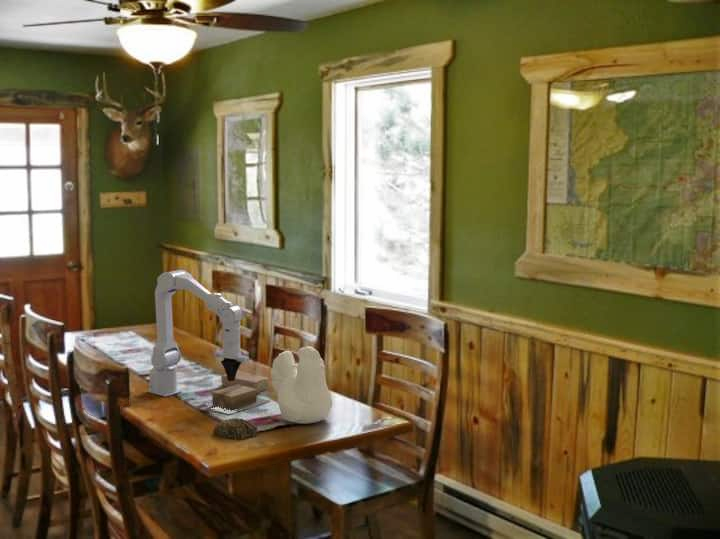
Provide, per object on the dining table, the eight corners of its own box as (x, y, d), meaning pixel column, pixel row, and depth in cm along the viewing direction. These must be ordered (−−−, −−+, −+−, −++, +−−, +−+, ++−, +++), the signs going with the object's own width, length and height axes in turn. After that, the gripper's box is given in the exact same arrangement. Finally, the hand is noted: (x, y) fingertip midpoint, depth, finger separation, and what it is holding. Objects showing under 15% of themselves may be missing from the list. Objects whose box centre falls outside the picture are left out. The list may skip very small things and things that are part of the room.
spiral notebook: (205, 408, 260) (205, 408, 260) (247, 395, 277) (247, 394, 277) (229, 415, 254) (229, 414, 254) (270, 401, 270) (270, 400, 270)
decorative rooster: (340, 424, 248) (342, 348, 244) (296, 432, 239) (298, 353, 236) (302, 403, 268) (304, 332, 265) (261, 410, 260) (261, 337, 257)
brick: (270, 388, 287) (270, 376, 286) (256, 393, 280) (256, 381, 279) (235, 381, 295) (235, 369, 295) (220, 386, 288) (220, 374, 288)
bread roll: (207, 434, 236) (207, 418, 236) (235, 424, 246) (235, 409, 246) (238, 444, 229) (238, 427, 228) (266, 433, 239) (266, 417, 239)
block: (212, 391, 264) (231, 396, 258) (237, 384, 273) (256, 389, 268) (212, 404, 264) (231, 410, 259) (237, 396, 274) (256, 401, 269)
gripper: (255, 342, 264) (255, 381, 265) (224, 336, 272) (224, 374, 274) (240, 346, 258) (240, 386, 260) (209, 339, 266) (209, 378, 268)
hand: (231, 380), depth 266 cm, fingers closed
